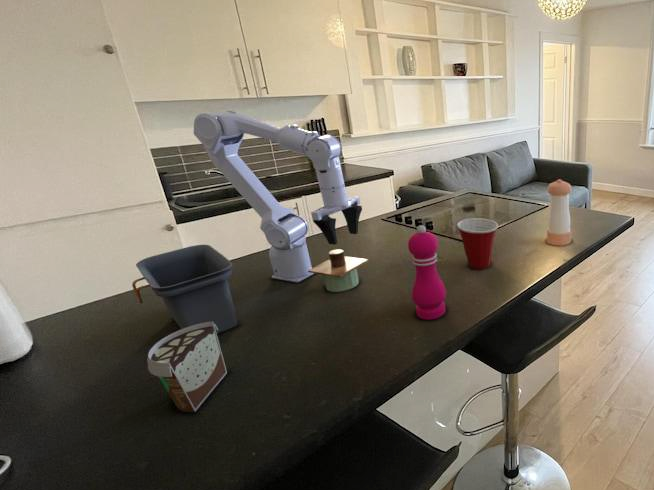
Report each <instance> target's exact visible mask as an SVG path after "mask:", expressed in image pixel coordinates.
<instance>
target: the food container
mask: <svg viewBox="0 0 654 490" xmlns="http://www.w3.org/2000/svg"><path fill="white" fill-rule="evenodd" d="M216 331H218V328H217V326H216V325H215V324H214V322H206V323H201V324H196V325H193V326H190V327H187V328H184V329H181V328H180V329H179V330H176V331H175V332H172V333H170V334H168V335H167V336H165V337H163V338H162V339H160V340H158V341H157V342H155V344H154V345H153V346H152V347H151V348H150V349H149V351H148V354H147V359H146V362H147V369H148V372H149V373H150V374H151V375H153V376H156V377H158V378H159V379H160V381H161V383H162V384H163V386H164V388H165V390H166V391H167V393H168V394H169V396H170V398H171V401H173V403H174V404H175V406H176V408H177V409H178V410H180V411H182V412H186V413H195V412H197V410H198V409H199V408H200V407H201V405H202V404H203V403H204V402H205V401H206V399H207V398H208V397H209V395H210V394H211V393H212V392H213V391H214V390H215V389H216V387H217V386H218V385H219V383H220V382H221V381H222V380H223V379H224V378H225V376H226V375H227V374H228V370H227V366H226V364H225V360H224V356H223V352H222V347H221V345H220V341H219V337H218V334H217V333H216Z"/></svg>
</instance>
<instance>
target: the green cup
mask: <svg viewBox="0 0 654 490" xmlns="http://www.w3.org/2000/svg"><path fill="white" fill-rule="evenodd" d="M322 279H323V282H324V283H323V284H324V288H325V290H326V291H328V292H332V293H340V292H345V291H349V290H351V289H353V288H355V287H357V286H358V285H359V283H360V279H359V274H358V267H357V268H356V269H354V270H352V271H351V272H349V273H347V274H346V275H344V276H342V277H341V278H340V277H334V276H328V275H322Z"/></svg>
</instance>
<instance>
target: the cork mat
mask: <svg viewBox="0 0 654 490" xmlns="http://www.w3.org/2000/svg"><path fill="white" fill-rule="evenodd" d="M328 256H329V257H328V259H327V260H325V261H323V262H322V263H319V264H318V265H316V266H314V267H312V269H310V270H308V272H309V273H314V274H317V275H321V276H323V275H328V276H334V277H340V278H341V277H342V276H344V275H346V274H347V273H349V272H351V271H352V270H354V269H356V268H357V269H358V268H359V267H361V266H363V265H364V264H366V263H367V262H369V259H367V258H362V257H361V258H360V257H354V256H353V257H352V256H345V253H344V250H343V249H341V248H339V249H338V248H337V249H333V250H330V251H329V252H328Z"/></svg>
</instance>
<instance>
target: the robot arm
mask: <svg viewBox="0 0 654 490" xmlns="http://www.w3.org/2000/svg"><path fill="white" fill-rule="evenodd" d="M246 134H247V135H250V136H253V137H257V138H261V139H266V140H268V141H273V142H276V143H278V145H279V147H280V148H281V149H282V150H286V151H289V152H292V153H294V154H298V155H301V156H304V157H308V159H309V160H310V161H311V162H312V163H313V168H314V169H315V172H316V178H317V181H318V186H319V191H320V194H321V199H322V203H323V205H322V206H320V207H317V209H315V210H313V211H311V212H310V215H311V219H312V222H313V223H314V224H315V226H317V228H319V230H320V231H321V233H322V234H323V236H324V238H325V239H326V241H327V243H328V245H335V246H336V245H337V244H338V237H337V233H336V231H337V230H336V221H337V218H335V217H331V215H333V214H336V213H339V212H342V214H343V216H344V219H345V222H346V226H347V229H348V232H349V234H350V235H358V233H359V223H360V222H359V220H360V216H361V214H362V211H363V206H362V205H360V204H361V200H360V196H355V195H354V196H351V197H348V194H347V190H346V185H345V180H344V174H343V170H342V165H341V161H340V157H339V156H340V155H341V153H342V144H341V142H340V141H339V140H338V139H337V137H335V136H333V135H331V134H328V133H326V134H322V135H320V134H319V132H318V131H315V130H313V131H309V130H305V129H302V128H300V126H299V125H298V124H295V123H291V124H290V125H288V124H287V125H285V126H283V127H279V126H277V125H274V124H271V123H268V122H266V121H263V120H260V119H258V118H254V117H251V116H249V115H247V114H245V113H243V112H237V111H233V110H227V111H224V112H223V111H222V112H212V113H206V112H205V113H204V112H203V113H200V114H197V116H195V118H194V121H193V135H194V136H195V138H197V140H198V141H199V143H201V144H202V146H203V147H204V149H205V152H206V154H207V157H208V158H209V160H210V161H211V163H212V164H213V165H214V166H215V168H217V169H218V171H219V172H220V173H221V174H222V175H223V176H224V177H225V179H226V180H227V181H228V182H229V183H230V184H231V185H232V186H233V188H234V189H235V190H236V191H237V192H238V194H240V196H241V197H242V198H243V199H244V200H245V201H246V202H247V204H248V205H250V207H251V208H252V209H253V210H254V211H255V213H257V215H258V216H259V217H260V218H261V221H260V227H259V229H260V230H261V231H262V232H263V234H264V236H265V239H266V241H267V243H268V244H269V245H270V246H271V247H269V251H268V257H269V262H270V264H271V268H272V272H273V275H272V276H271V279H274V280H280V281H287V282H292V283H300V282H302V281H303V280H305V279H307V278H309V277H311V276H313V275H314V274H315V273H309V272H308V270H310V269H312V268H313V267H312V262H311V257H310V254H309V249H308V246H307V241H306V240H307V237H306V235H307V234H308V232H309V224H308V223H307V221H306V220H305V218H303V216H300V215H299V214H297V213H295V211H294V210H293V209H292V208H289V207H286V206H283V205H281V204H280V202H278V200H277V198H276V197H275V196H274V195H273V194H272V193H271V192H270V191H269V190H268V188H267V187H266V186H265V185H264V184H263V183H262V181H260V179H259V178H258V177H257V176H256V175H255V173H254V172H253V171H252V170H251V168H249V166H248V165H247V164H246V163H245V161H244V160H243V159H242V158H241V156H239V155H238V153H239V148H240V146H241V143H242V141H243V139H244V137H245V135H246Z"/></svg>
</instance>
